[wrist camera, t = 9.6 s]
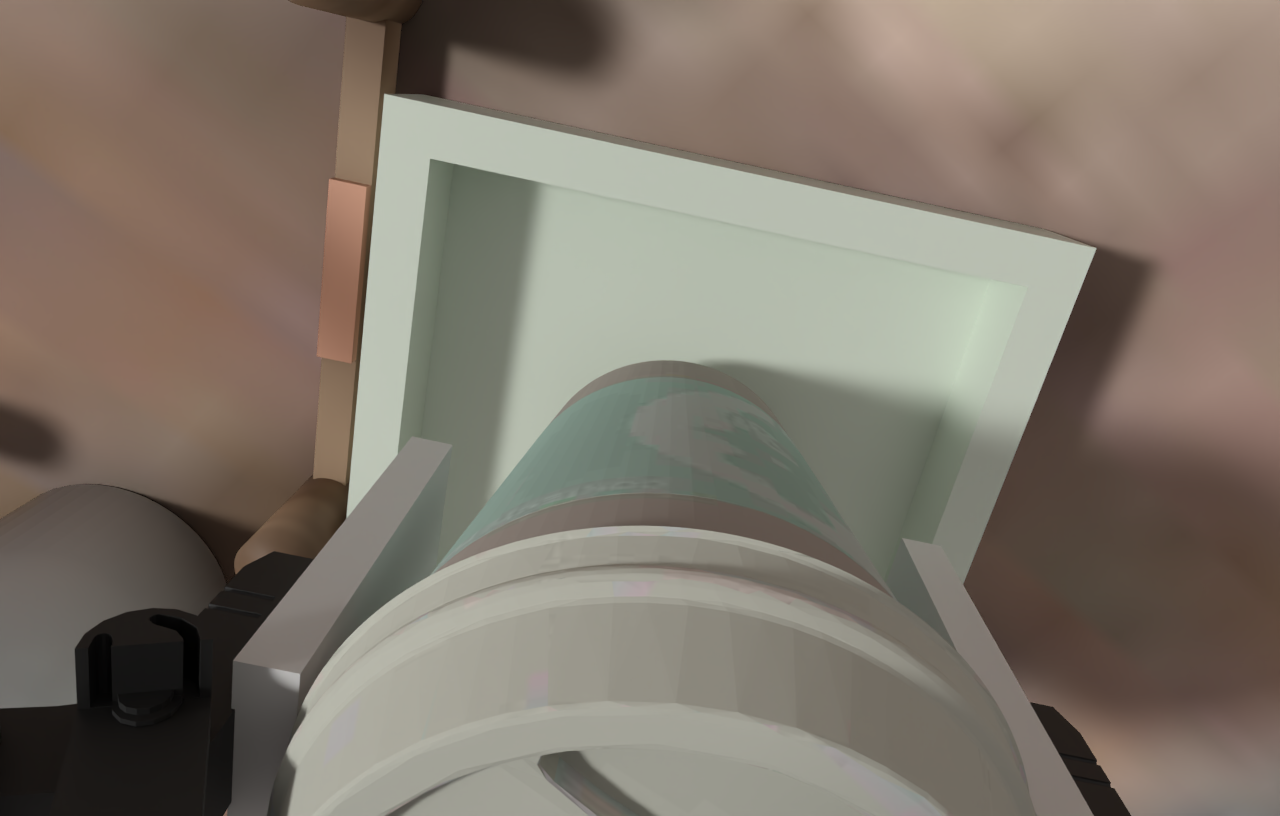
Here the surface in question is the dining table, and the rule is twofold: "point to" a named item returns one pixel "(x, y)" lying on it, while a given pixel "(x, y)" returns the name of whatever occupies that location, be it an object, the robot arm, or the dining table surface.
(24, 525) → the white rounded capsule
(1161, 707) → the dining table surface
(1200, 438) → the dining table surface
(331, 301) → the rack
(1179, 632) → the dining table surface
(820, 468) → the tray
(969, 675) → the coffee cup
